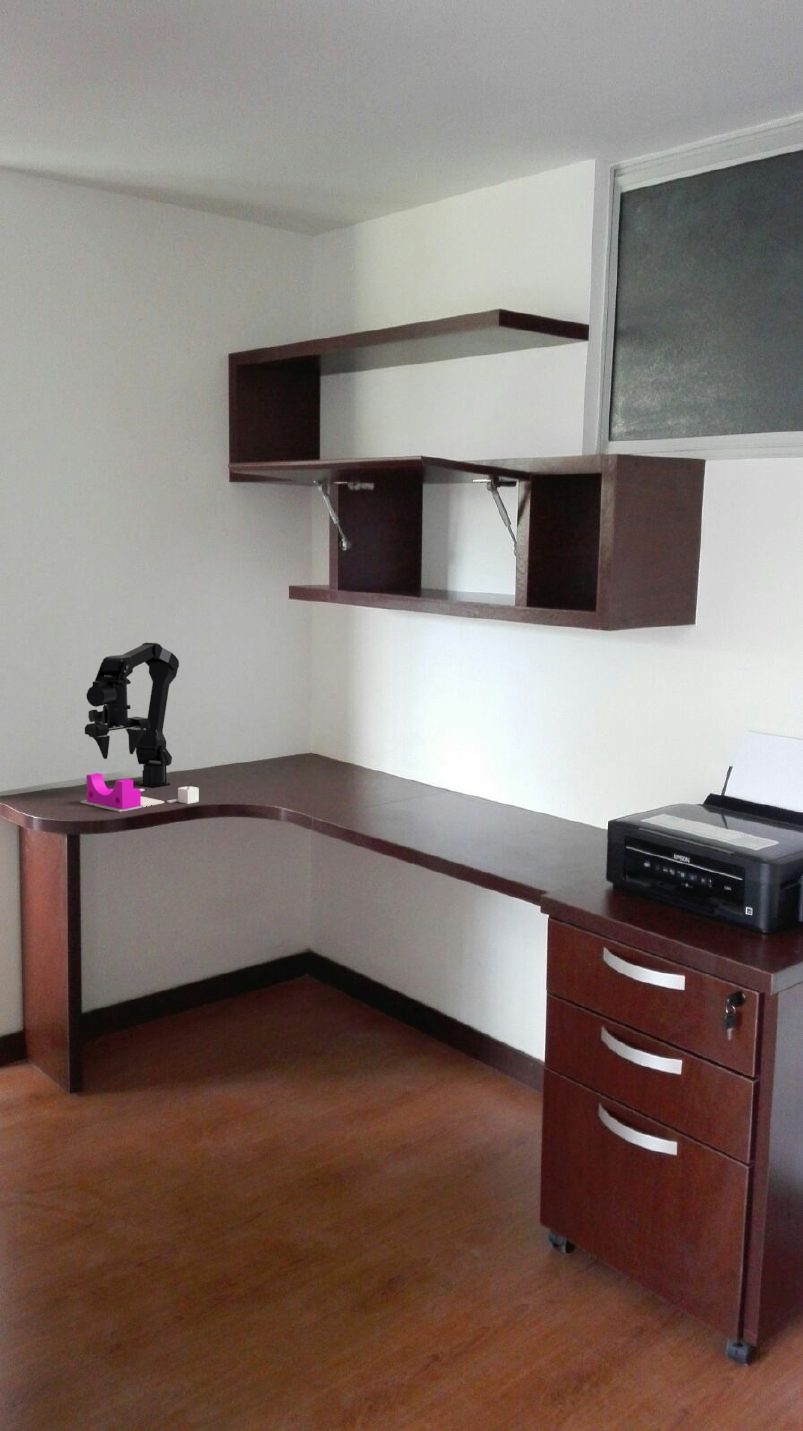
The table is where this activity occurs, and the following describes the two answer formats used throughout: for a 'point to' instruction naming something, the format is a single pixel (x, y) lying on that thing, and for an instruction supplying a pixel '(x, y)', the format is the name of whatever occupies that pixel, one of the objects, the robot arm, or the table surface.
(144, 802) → the game board
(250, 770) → the table surface
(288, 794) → the table surface
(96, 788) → the toy block
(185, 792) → the die
